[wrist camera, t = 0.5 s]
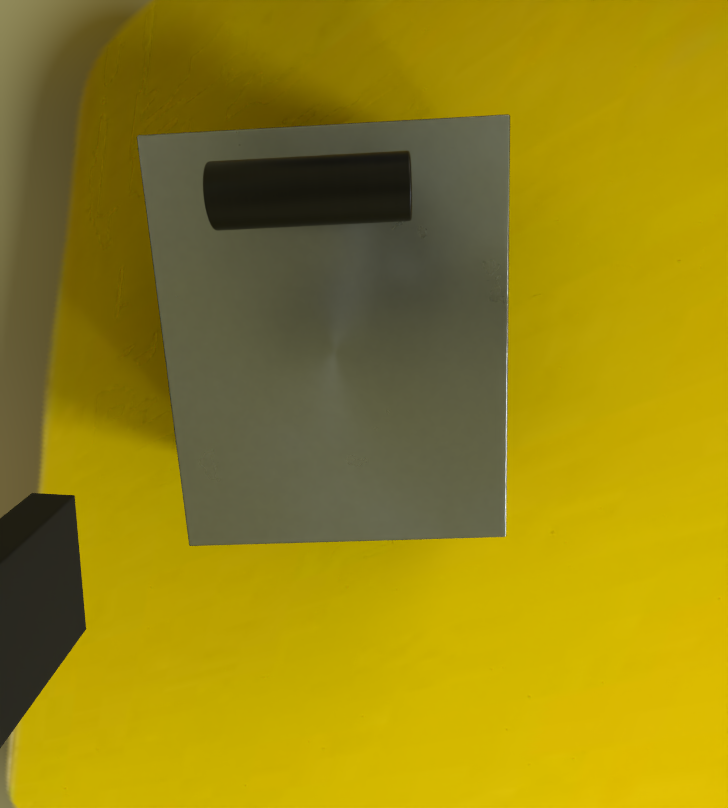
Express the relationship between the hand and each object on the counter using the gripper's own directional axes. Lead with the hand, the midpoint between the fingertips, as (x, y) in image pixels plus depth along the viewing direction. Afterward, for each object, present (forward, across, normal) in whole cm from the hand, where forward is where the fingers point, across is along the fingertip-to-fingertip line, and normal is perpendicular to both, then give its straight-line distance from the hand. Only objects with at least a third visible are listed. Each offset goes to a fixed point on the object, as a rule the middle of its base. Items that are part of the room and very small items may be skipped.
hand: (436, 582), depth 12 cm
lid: (+16, -3, +1) cm, 16 cm away
